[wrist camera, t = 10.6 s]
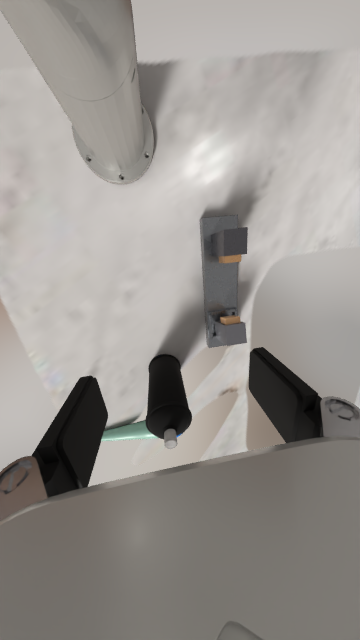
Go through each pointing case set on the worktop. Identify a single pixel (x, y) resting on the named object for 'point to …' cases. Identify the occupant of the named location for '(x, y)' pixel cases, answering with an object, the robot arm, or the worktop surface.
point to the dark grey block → (230, 330)
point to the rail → (220, 269)
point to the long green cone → (128, 432)
